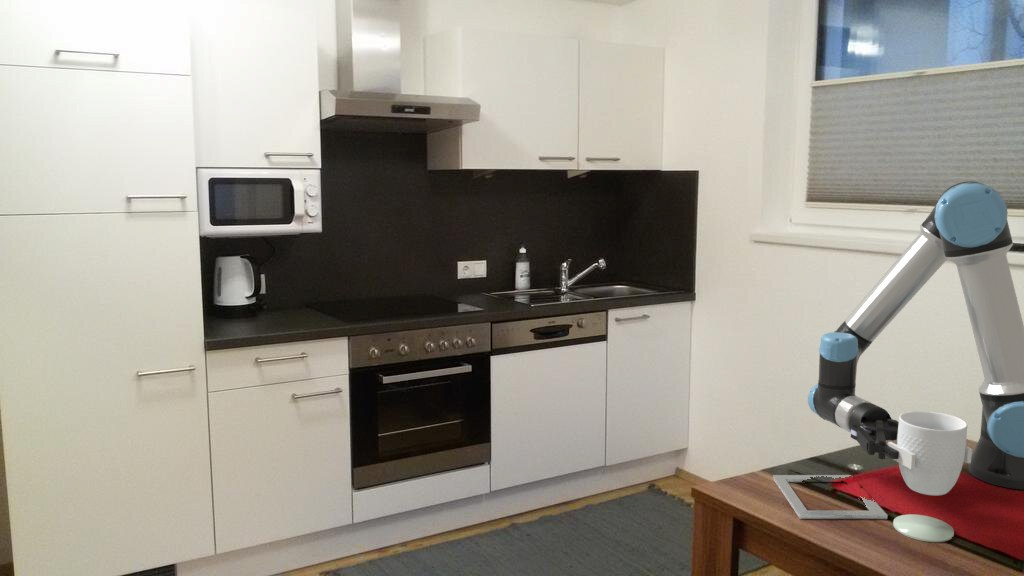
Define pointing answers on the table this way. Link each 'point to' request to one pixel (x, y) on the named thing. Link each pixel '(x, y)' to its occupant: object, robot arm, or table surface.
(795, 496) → the grey rectangular frame
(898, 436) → the mug
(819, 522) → the table surface
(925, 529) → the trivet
